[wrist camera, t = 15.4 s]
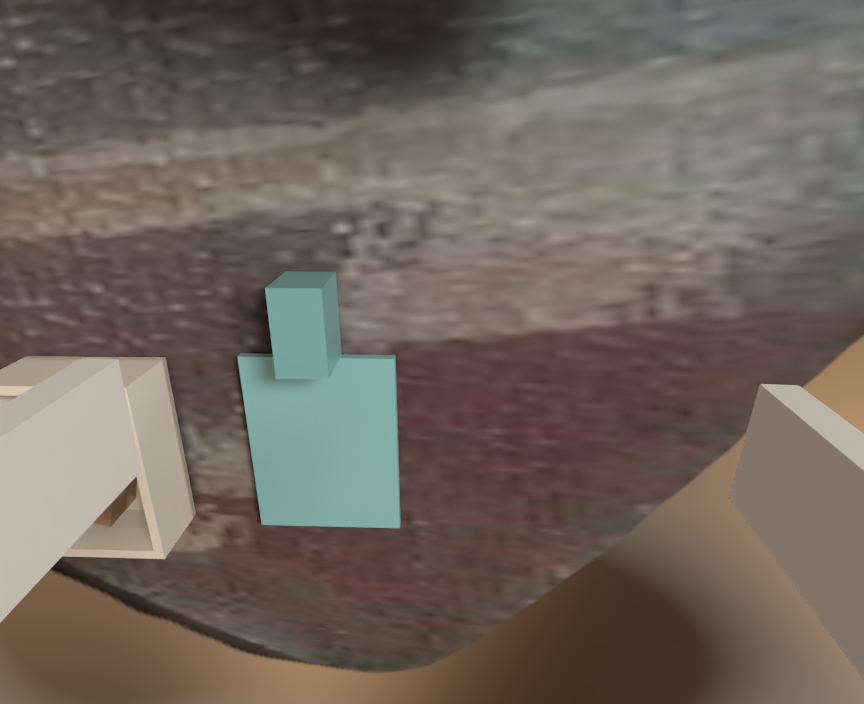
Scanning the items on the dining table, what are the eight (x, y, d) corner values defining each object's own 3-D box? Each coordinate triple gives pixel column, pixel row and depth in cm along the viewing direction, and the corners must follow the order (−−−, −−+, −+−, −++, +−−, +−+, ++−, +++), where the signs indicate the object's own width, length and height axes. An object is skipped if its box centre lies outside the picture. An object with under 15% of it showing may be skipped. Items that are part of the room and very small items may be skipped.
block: (94, 452, 49) (64, 478, 46) (138, 463, 50) (112, 489, 46) (92, 488, 51) (63, 516, 47) (135, 498, 51) (110, 527, 47)
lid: (229, 271, 43) (201, 287, 39) (393, 272, 43) (385, 288, 38) (264, 519, 52) (245, 556, 48) (400, 522, 52) (395, 560, 47)
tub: (27, 355, 47) (-31, 385, 41) (165, 357, 46) (125, 387, 41) (72, 511, 53) (27, 555, 47) (195, 513, 52) (164, 559, 47)
